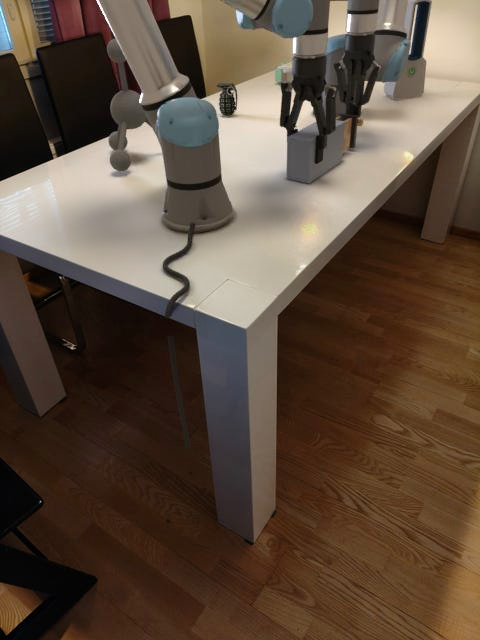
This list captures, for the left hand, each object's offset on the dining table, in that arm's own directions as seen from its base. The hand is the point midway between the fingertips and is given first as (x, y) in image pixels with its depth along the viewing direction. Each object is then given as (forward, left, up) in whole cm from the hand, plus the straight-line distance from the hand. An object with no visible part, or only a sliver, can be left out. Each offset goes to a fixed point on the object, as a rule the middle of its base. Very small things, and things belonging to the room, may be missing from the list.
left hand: (305, 159), depth 120 cm
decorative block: (+100, +42, -4) cm, 108 cm away
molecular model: (-3, +48, -4) cm, 48 cm away
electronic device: (+84, -4, -4) cm, 84 cm away
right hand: (+25, -4, 0) cm, 25 cm away
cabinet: (+5, -1, -4) cm, 7 cm away
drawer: (+17, -2, -4) cm, 18 cm away
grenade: (+41, +46, -4) cm, 62 cm away
